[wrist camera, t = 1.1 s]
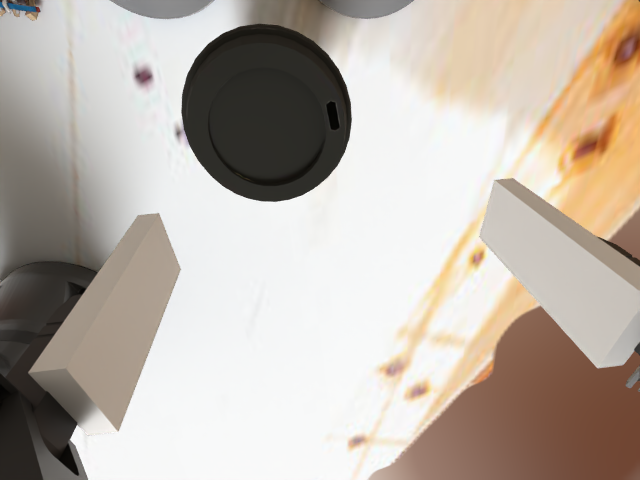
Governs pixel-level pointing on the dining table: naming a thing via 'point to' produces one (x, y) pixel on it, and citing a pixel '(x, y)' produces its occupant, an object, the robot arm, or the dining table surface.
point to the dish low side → (365, 7)
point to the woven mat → (20, 8)
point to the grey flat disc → (164, 7)
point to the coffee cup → (266, 112)
